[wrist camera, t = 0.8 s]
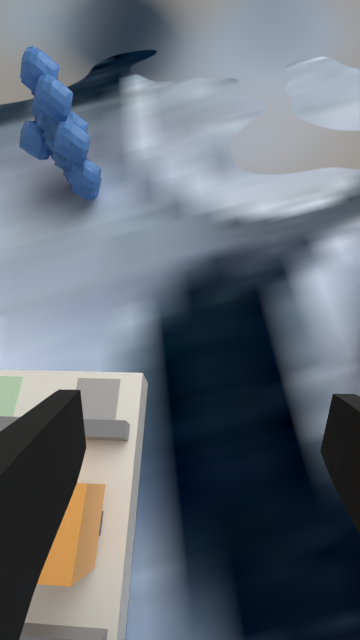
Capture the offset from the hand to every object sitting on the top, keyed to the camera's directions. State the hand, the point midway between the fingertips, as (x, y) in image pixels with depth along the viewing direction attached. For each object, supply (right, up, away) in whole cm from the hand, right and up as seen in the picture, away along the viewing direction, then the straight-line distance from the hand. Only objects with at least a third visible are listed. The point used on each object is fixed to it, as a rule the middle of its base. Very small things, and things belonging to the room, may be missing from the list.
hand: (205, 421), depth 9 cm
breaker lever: (-7, -9, +9) cm, 14 cm away
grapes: (-12, +18, +26) cm, 34 cm away
